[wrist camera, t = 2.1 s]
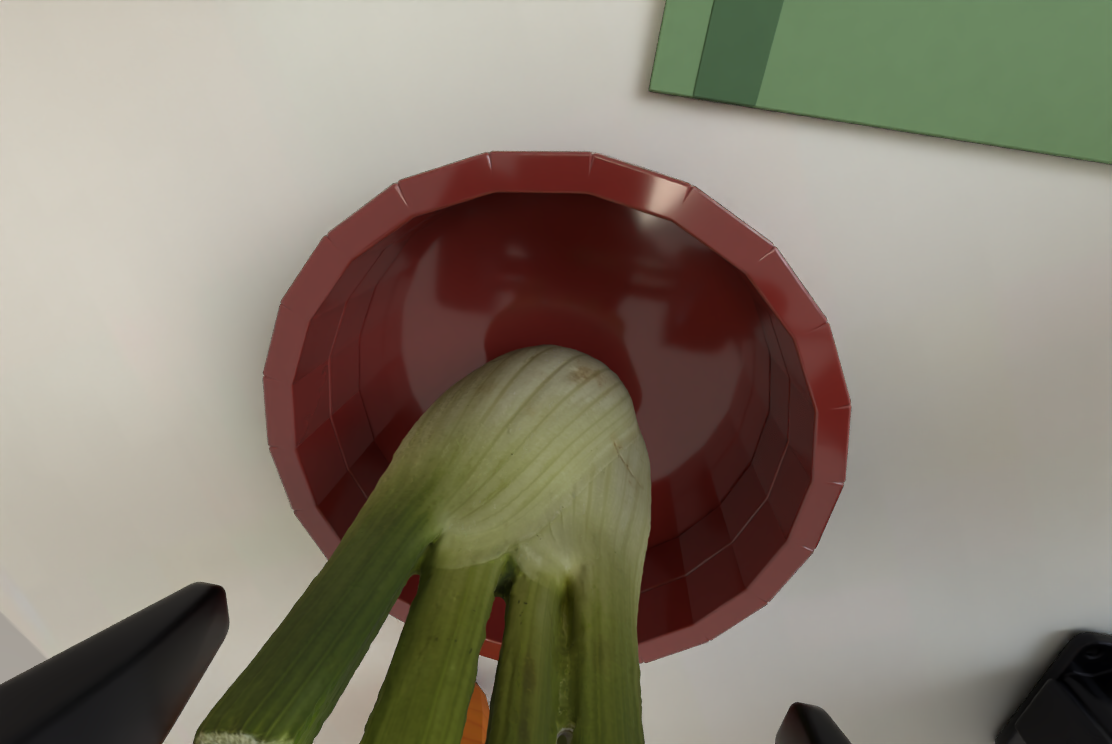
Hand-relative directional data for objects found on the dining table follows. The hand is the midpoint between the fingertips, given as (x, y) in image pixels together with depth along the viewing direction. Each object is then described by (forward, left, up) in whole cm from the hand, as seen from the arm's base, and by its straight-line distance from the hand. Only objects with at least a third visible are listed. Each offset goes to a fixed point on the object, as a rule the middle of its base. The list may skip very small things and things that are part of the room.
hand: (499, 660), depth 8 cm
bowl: (0, 0, -10) cm, 10 cm away
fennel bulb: (0, 0, -10) cm, 10 cm away
